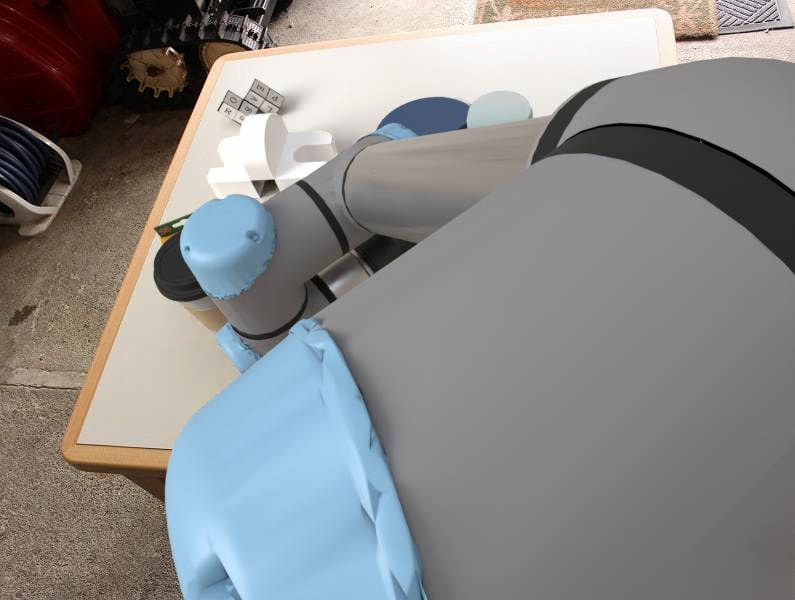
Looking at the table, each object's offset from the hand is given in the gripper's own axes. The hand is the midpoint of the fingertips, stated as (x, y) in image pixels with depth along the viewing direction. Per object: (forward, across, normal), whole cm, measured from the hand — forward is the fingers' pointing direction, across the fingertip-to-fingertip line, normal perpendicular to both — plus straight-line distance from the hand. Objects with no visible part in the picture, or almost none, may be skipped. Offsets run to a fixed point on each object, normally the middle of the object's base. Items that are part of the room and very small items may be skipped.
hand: (514, 158), depth 67 cm
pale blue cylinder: (-2, 0, -13) cm, 13 cm away
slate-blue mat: (+5, -23, -13) cm, 27 cm away
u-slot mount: (-16, -34, -13) cm, 40 cm away
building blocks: (-11, -49, -13) cm, 52 cm away
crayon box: (-32, -23, -13) cm, 42 cm away
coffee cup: (-34, -14, -13) cm, 39 cm away
